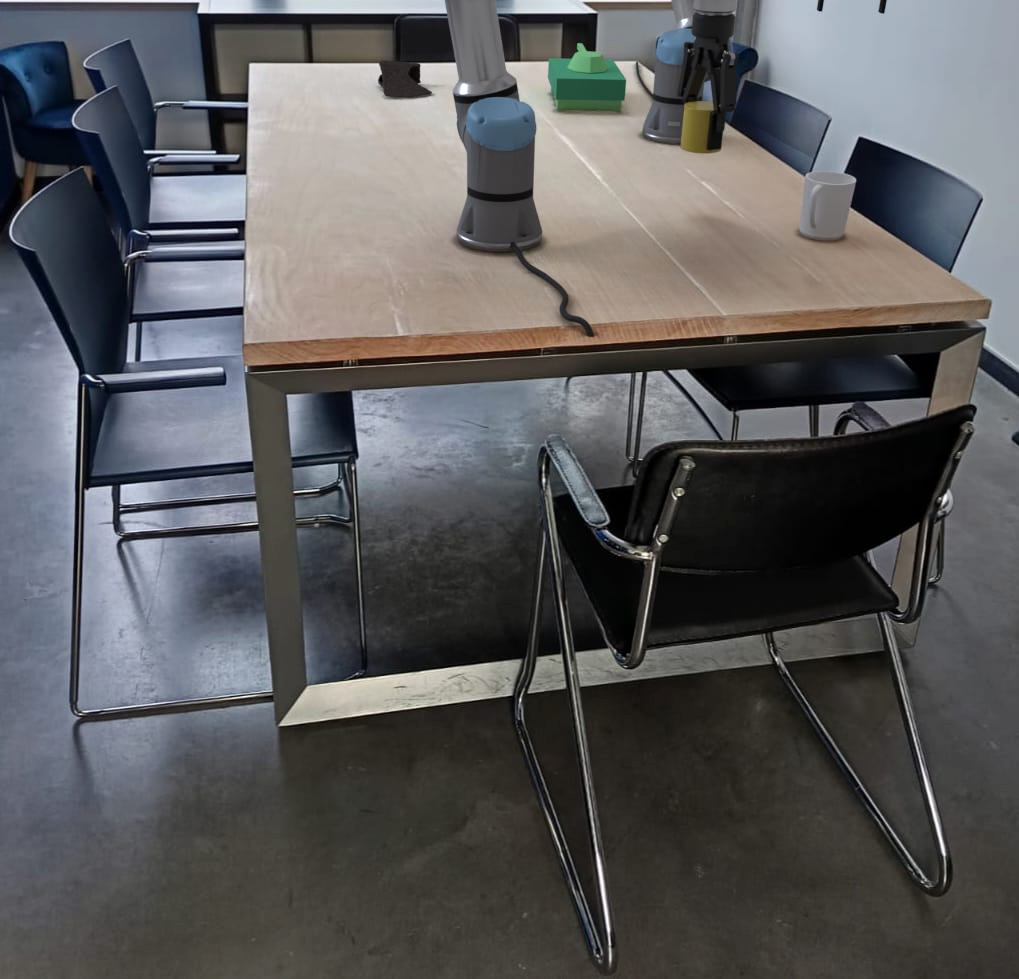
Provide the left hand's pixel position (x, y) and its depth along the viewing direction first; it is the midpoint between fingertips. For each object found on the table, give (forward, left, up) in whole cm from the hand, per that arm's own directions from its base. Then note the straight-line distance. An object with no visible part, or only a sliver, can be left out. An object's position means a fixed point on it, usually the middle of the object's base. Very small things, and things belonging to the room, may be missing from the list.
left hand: (700, 143), depth 205 cm
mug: (-10, -23, -13) cm, 28 cm away
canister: (0, 0, -1) cm, 1 cm away
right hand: (+59, -33, +16) cm, 69 cm away
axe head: (+96, +77, -13) cm, 124 cm away
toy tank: (+96, +28, -13) cm, 101 cm away
